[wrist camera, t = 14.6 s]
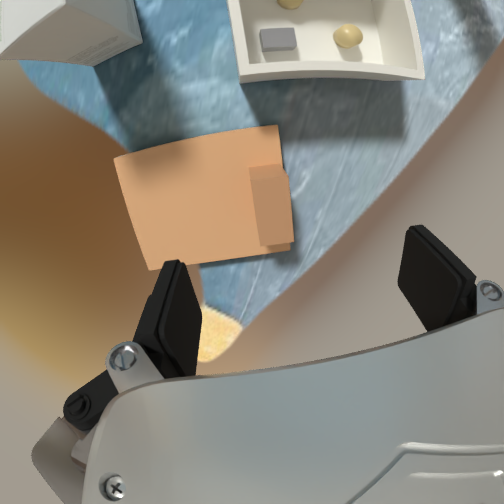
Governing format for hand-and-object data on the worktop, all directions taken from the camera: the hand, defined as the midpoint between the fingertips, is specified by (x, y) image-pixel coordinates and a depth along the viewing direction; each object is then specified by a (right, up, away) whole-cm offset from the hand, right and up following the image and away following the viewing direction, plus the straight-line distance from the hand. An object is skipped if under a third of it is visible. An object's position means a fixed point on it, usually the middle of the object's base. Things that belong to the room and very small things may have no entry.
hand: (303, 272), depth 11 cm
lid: (-7, +6, +17) cm, 20 cm away
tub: (+4, +24, +8) cm, 25 cm away
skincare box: (-17, +24, +7) cm, 30 cm away
